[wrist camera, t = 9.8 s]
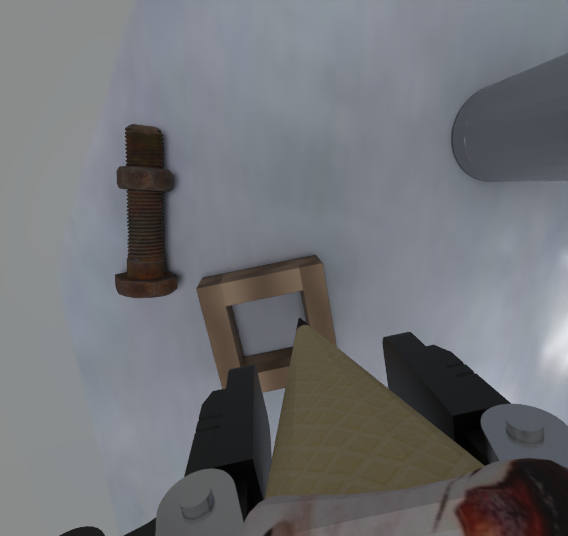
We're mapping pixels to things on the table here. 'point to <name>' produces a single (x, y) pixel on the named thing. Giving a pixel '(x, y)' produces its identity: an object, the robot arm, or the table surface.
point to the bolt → (145, 215)
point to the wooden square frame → (253, 286)
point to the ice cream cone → (388, 465)
